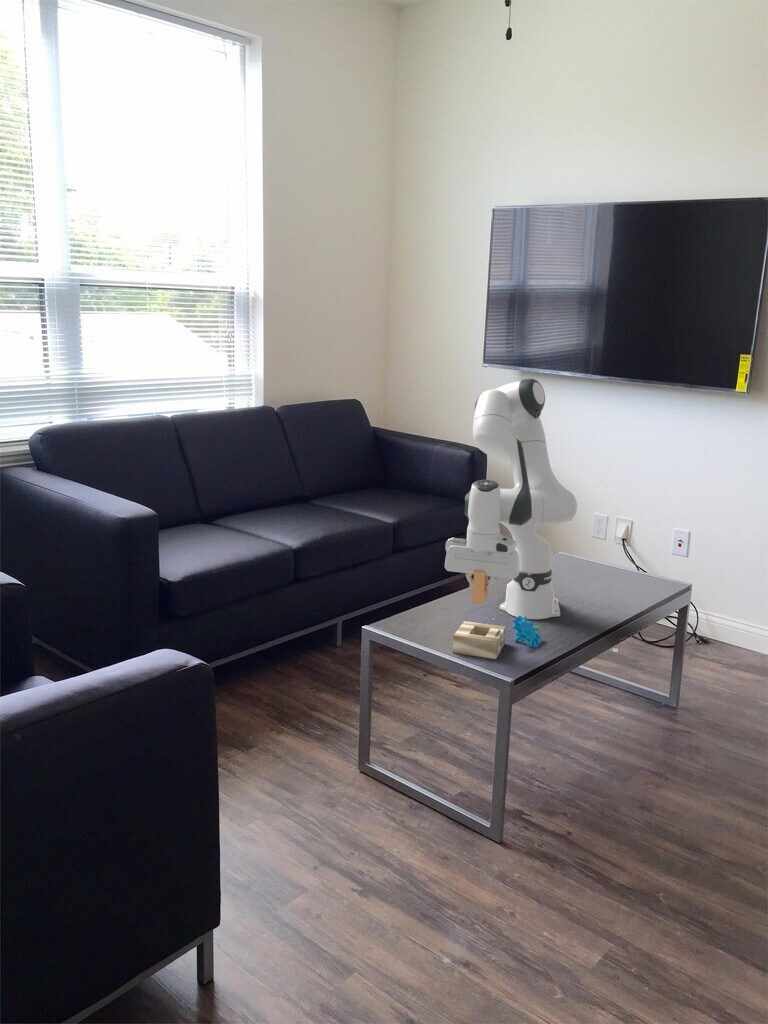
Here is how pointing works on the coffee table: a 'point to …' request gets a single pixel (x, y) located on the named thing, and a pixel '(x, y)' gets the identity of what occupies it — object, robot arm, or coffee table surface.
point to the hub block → (479, 639)
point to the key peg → (480, 587)
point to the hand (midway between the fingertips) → (480, 589)
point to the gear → (526, 632)
